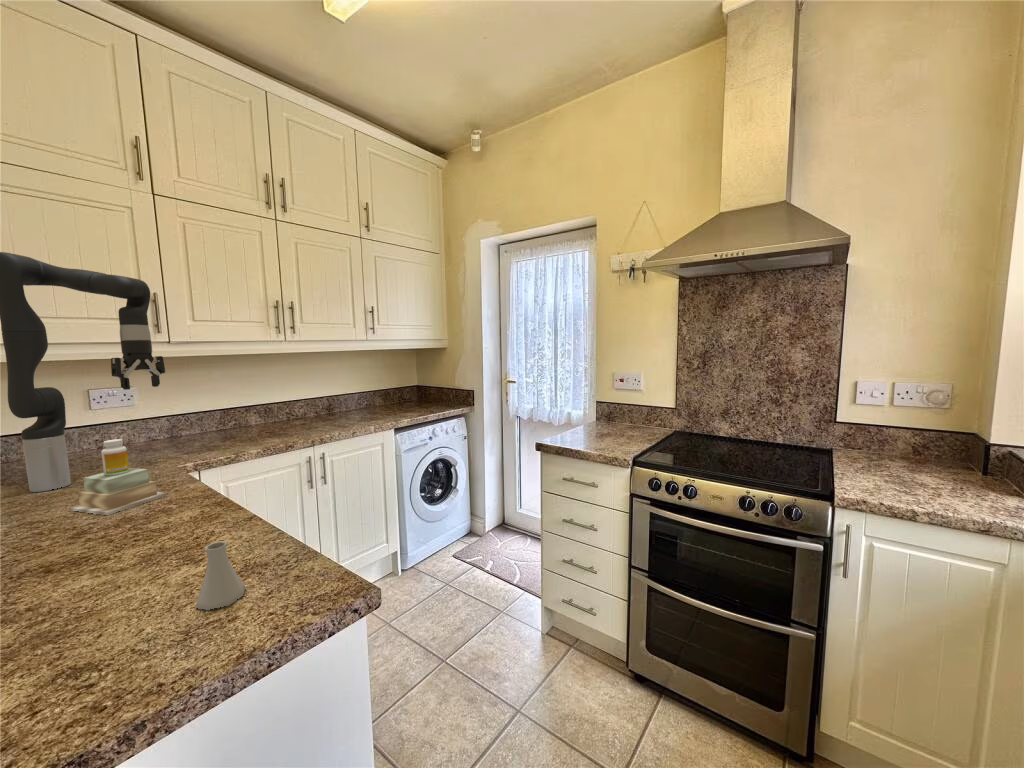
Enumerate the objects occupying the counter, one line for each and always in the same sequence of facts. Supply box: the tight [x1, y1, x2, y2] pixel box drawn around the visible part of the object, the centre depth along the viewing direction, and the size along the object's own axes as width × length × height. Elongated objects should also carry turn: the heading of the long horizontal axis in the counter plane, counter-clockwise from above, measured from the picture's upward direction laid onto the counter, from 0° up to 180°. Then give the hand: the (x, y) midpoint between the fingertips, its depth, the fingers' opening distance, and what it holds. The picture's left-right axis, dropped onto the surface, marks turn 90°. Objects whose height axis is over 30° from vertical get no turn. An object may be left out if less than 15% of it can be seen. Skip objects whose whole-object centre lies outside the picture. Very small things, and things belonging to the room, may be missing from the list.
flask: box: [194, 540, 247, 611], centre depth 73 cm, size 7×7×10 cm
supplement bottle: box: [100, 438, 130, 476], centre depth 120 cm, size 5×5×10 cm
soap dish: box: [69, 467, 167, 516], centre depth 121 cm, size 15×15×9 cm
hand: (141, 388), depth 138 cm, fingers open, 8 cm apart
